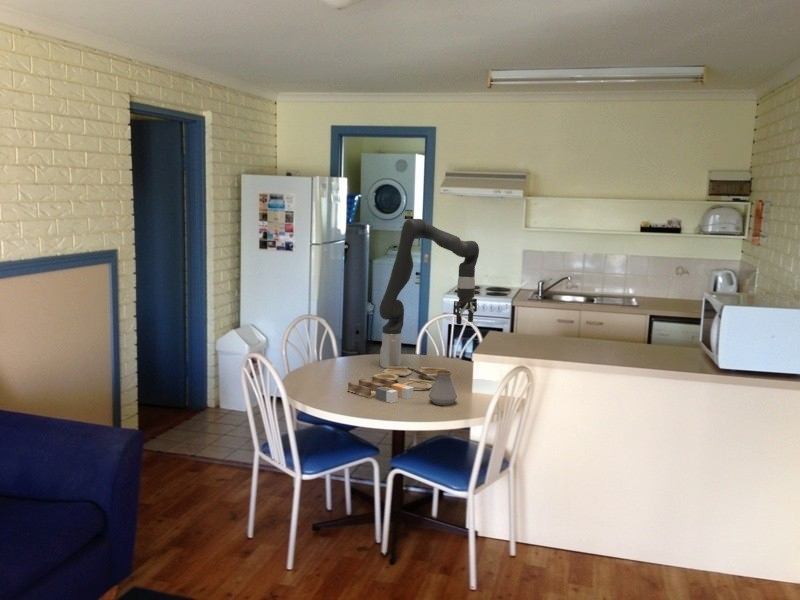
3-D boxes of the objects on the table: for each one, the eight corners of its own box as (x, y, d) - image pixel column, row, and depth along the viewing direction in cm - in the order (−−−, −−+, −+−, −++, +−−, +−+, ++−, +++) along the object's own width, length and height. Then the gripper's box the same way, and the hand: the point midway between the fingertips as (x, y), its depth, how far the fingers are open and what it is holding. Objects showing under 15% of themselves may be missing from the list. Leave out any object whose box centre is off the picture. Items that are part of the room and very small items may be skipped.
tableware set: (389, 368, 338) (389, 360, 338) (447, 374, 329) (448, 366, 329) (363, 386, 305) (363, 377, 305) (427, 394, 296) (427, 384, 296)
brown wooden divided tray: (347, 391, 296) (347, 382, 295) (372, 384, 307) (372, 375, 307) (370, 398, 287) (370, 389, 286) (395, 391, 298) (396, 382, 298)
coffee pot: (453, 398, 290) (455, 363, 288) (459, 406, 279) (460, 370, 276) (403, 398, 287) (404, 363, 285) (406, 407, 276) (407, 370, 274)
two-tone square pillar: (375, 398, 287) (375, 388, 286) (381, 396, 290) (381, 386, 289) (391, 403, 281) (391, 392, 280) (397, 401, 284) (397, 390, 283)
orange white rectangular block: (391, 395, 293) (391, 384, 292) (397, 393, 295) (397, 383, 294) (407, 399, 287) (407, 389, 286) (413, 397, 289) (413, 387, 289)
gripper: (468, 284, 310) (467, 319, 313) (449, 287, 300) (448, 323, 302) (482, 286, 305) (480, 322, 308) (463, 289, 295) (461, 326, 297)
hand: (464, 323), depth 305 cm, fingers open, 8 cm apart
